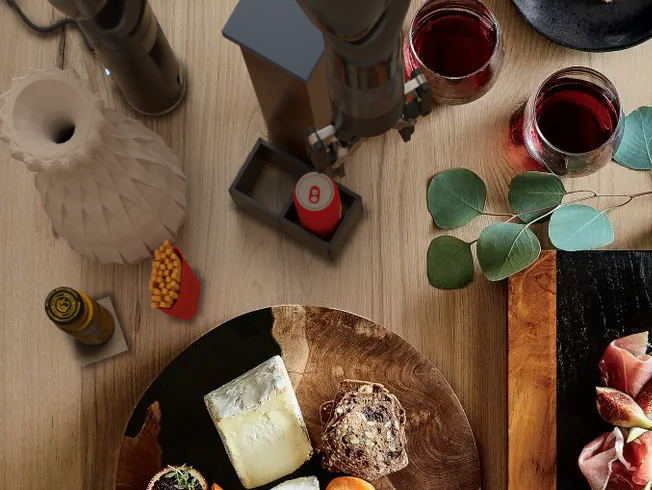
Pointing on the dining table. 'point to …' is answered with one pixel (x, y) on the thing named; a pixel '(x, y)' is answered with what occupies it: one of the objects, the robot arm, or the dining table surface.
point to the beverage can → (318, 205)
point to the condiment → (86, 323)
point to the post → (290, 105)
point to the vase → (94, 167)
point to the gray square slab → (277, 35)
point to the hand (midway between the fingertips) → (370, 152)
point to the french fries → (174, 284)
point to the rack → (291, 200)
